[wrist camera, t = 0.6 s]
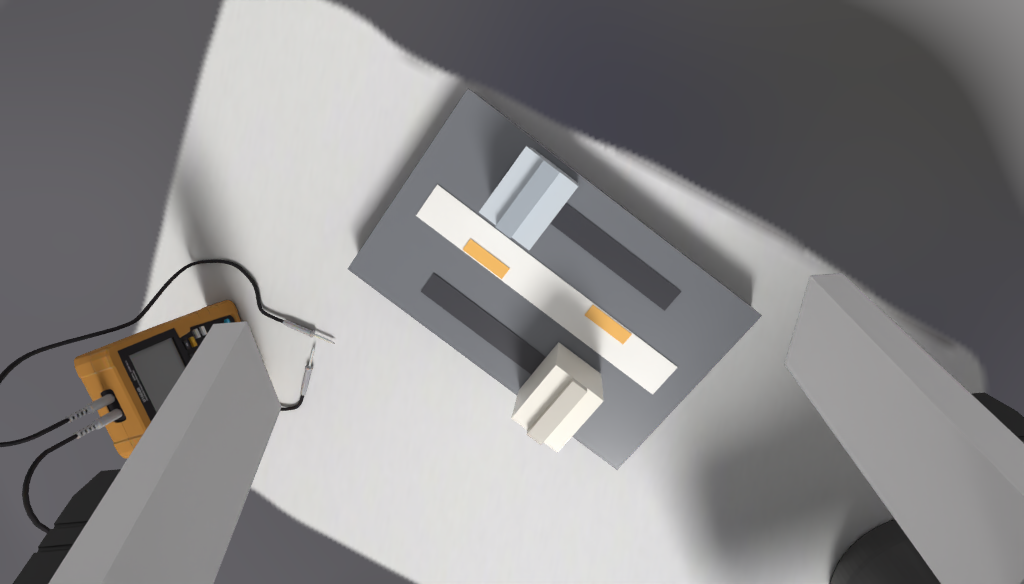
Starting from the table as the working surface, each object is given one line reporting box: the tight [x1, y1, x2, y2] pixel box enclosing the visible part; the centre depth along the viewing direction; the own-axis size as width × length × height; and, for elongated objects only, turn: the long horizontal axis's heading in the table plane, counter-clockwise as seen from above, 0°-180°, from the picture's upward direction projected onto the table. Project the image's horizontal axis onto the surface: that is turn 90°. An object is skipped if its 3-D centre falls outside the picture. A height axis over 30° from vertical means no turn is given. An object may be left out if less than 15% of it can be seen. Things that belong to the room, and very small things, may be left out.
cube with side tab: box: [479, 146, 579, 250], centre depth 36 cm, size 4×5×5 cm
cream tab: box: [511, 342, 604, 453], centre depth 39 cm, size 4×5×5 cm
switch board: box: [348, 89, 762, 470], centre depth 42 cm, size 26×16×3 cm, turn 53°
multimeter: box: [0, 260, 335, 533], centre depth 37 cm, size 15×10×20 cm
